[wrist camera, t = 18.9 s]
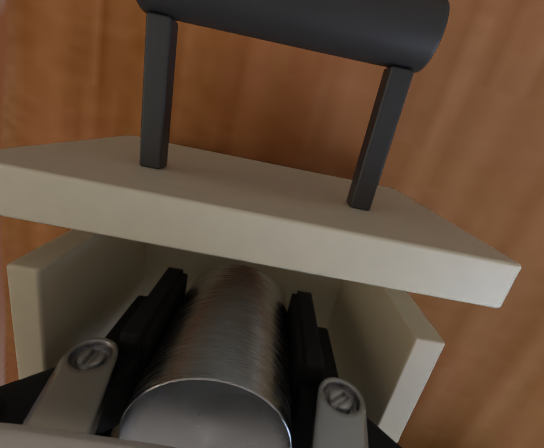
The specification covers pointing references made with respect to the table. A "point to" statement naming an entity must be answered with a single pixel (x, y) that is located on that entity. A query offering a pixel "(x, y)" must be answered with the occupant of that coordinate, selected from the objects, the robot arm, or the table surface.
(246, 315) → the cylinder
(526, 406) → the table surface
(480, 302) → the drawer
